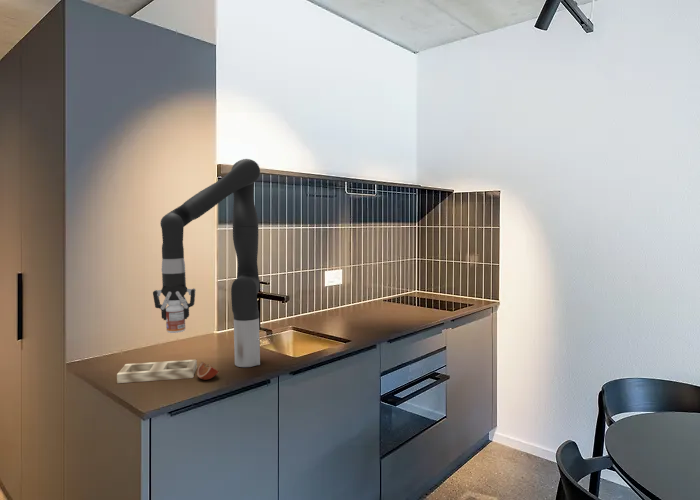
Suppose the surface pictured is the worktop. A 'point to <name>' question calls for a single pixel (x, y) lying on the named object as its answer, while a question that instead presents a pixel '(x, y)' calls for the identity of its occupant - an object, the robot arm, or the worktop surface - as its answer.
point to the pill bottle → (175, 317)
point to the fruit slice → (206, 371)
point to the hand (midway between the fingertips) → (175, 319)
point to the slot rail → (157, 371)
